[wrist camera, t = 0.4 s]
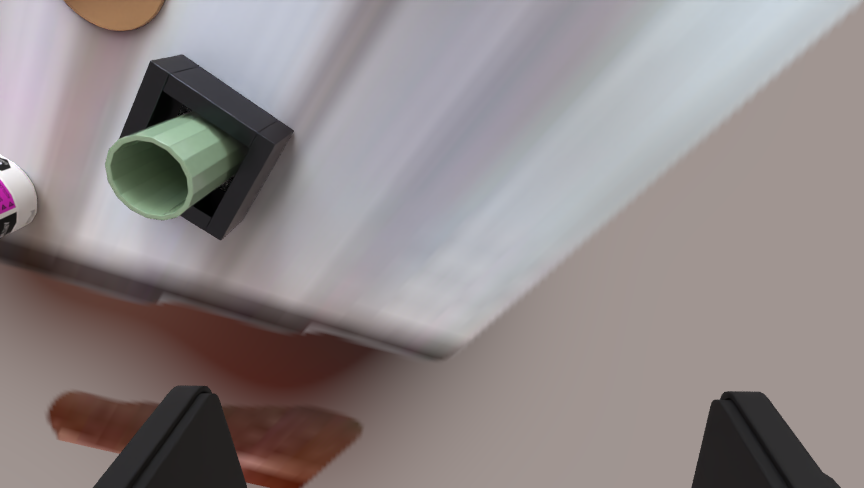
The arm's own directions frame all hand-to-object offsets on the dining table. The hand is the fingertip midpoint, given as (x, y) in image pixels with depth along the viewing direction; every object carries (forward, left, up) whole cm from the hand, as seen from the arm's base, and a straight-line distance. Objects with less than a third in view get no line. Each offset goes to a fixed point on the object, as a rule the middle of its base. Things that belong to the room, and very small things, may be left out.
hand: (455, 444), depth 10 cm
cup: (-11, -21, -36) cm, 43 cm away
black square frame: (-11, -21, -36) cm, 43 cm away
